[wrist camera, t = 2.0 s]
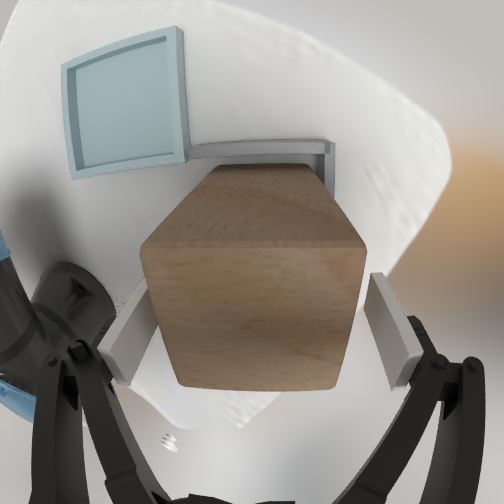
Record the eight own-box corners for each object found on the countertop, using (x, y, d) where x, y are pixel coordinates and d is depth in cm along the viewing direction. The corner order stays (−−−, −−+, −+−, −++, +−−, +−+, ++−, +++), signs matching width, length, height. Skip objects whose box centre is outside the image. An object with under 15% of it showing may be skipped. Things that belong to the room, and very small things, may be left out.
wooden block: (215, 164, 29) (133, 247, 11) (309, 163, 28) (372, 246, 11) (222, 248, 34) (177, 388, 16) (306, 247, 33) (336, 392, 15)
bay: (213, 267, 35) (206, 285, 31) (199, 144, 28) (188, 148, 25) (322, 265, 34) (327, 283, 30) (326, 139, 27) (335, 143, 24)
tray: (83, 175, 30) (72, 180, 28) (72, 66, 23) (60, 65, 21) (191, 158, 29) (184, 162, 27) (182, 31, 22) (175, 25, 20)
